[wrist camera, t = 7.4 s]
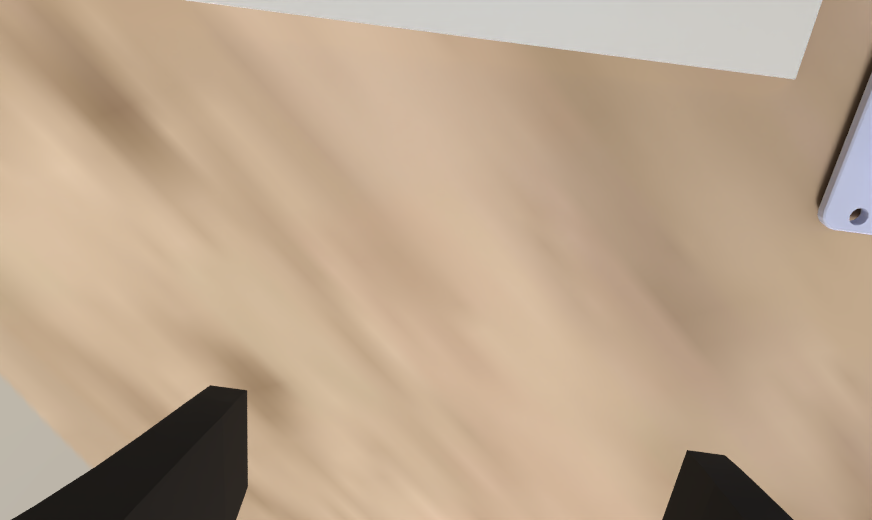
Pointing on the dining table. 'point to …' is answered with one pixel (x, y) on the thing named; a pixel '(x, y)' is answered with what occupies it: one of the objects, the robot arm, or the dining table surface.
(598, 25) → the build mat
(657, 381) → the dining table surface
